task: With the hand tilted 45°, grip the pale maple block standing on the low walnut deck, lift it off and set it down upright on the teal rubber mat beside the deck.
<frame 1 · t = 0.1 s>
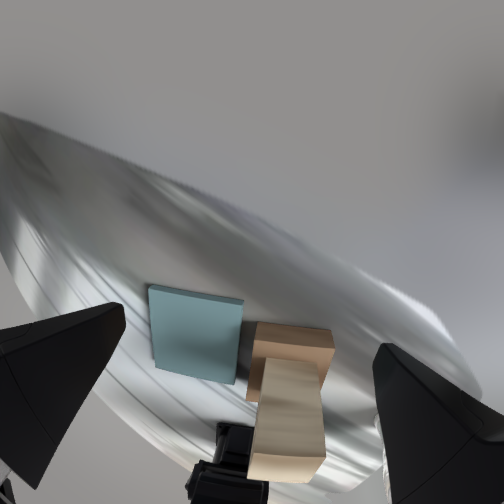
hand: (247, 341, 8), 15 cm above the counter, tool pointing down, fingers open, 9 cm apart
walnut deck: (287, 358, 26), on the counter
maple block: (287, 378, 23), point 3 cm above the counter, touching walnut deck
teal mat: (195, 336, 26), on the counter
beer glass: (394, 413, 27), on the counter
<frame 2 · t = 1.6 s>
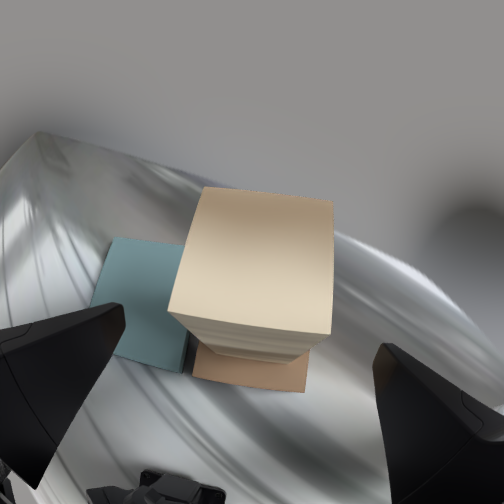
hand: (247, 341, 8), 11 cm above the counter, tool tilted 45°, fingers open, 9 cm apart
walnut deck: (257, 334, 20), on the counter
maple block: (257, 325, 17), point 3 cm above the counter, touching walnut deck
teal mat: (143, 300, 21), on the counter
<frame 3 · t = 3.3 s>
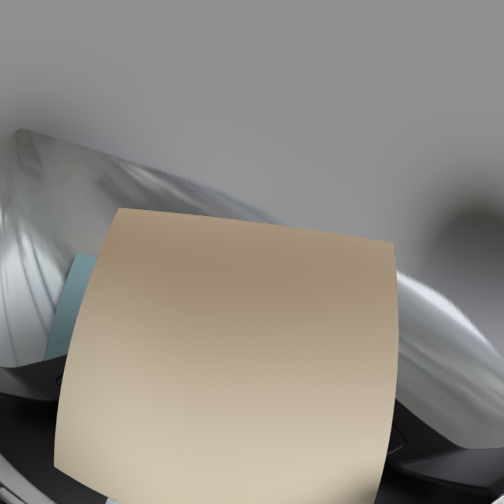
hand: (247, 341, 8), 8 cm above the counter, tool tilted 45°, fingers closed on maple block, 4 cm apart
maple block: (244, 383, 12), point 3 cm above the counter, touching gripper, walnut deck
teal mat: (108, 334, 16), on the counter
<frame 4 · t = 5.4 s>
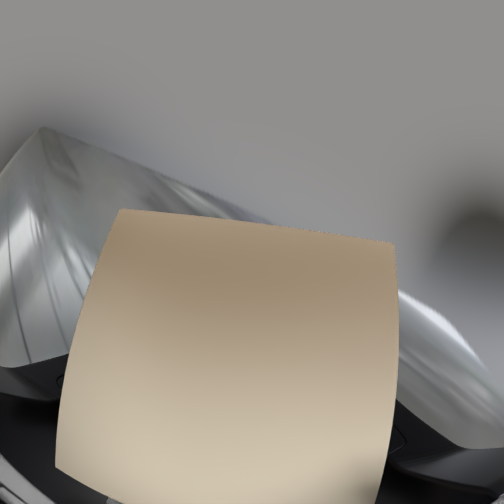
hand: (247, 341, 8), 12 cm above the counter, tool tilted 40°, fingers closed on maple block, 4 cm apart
maple block: (245, 383, 12), point 8 cm above the counter, tilted 5°, touching gripper
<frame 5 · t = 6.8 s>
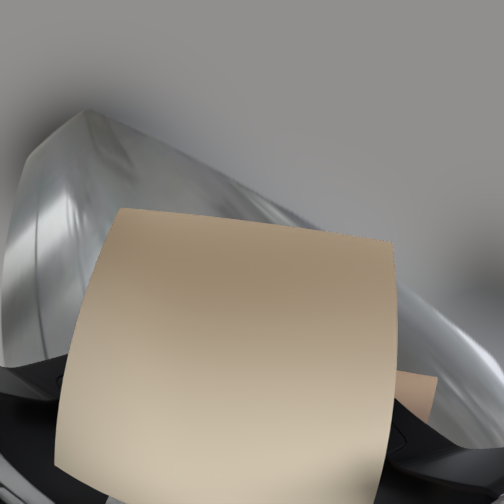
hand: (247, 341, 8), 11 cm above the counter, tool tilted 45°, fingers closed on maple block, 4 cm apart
walnut deck: (366, 424, 15), on the counter
maple block: (244, 383, 12), point 6 cm above the counter, touching gripper
when the fingers open (6 cm above the counter, at t = 8.0 s): maple block stays where it is, resting on teal mat.
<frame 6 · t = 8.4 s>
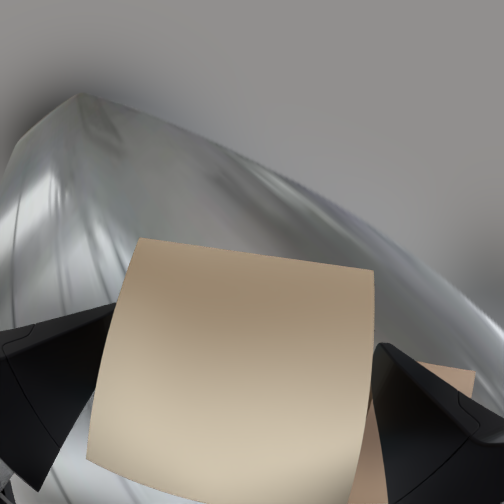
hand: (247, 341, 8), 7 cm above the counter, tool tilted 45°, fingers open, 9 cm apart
walnut deck: (392, 431, 12), on the counter
maple block: (245, 383, 13), point 1 cm above the counter, touching teal mat
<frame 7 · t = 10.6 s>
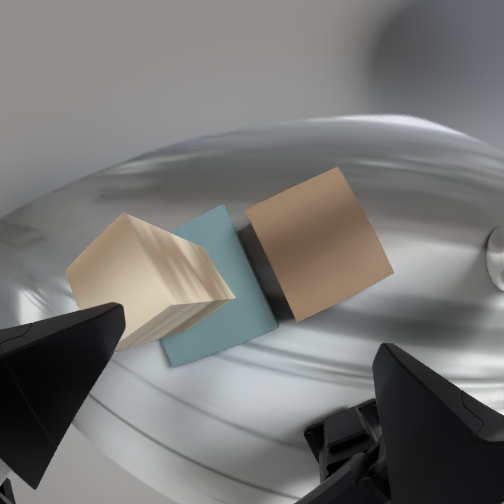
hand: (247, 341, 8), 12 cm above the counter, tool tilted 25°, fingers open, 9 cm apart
walnut deck: (317, 247, 20), on the counter
maple block: (195, 289, 20), point 1 cm above the counter, touching teal mat
teal mat: (200, 289, 21), on the counter
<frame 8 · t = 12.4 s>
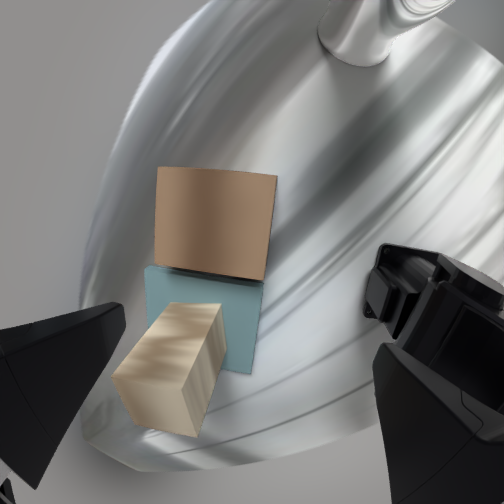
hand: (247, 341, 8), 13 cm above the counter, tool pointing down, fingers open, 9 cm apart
walnut deck: (219, 215, 21), on the counter
maple block: (198, 326, 23), point 1 cm above the counter, touching teal mat
teal mat: (201, 320, 23), on the counter
beer glass: (353, 37, 15), on the counter
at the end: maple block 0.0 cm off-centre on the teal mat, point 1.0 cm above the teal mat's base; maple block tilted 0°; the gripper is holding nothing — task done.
